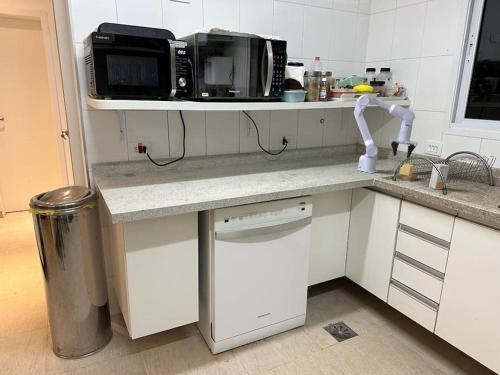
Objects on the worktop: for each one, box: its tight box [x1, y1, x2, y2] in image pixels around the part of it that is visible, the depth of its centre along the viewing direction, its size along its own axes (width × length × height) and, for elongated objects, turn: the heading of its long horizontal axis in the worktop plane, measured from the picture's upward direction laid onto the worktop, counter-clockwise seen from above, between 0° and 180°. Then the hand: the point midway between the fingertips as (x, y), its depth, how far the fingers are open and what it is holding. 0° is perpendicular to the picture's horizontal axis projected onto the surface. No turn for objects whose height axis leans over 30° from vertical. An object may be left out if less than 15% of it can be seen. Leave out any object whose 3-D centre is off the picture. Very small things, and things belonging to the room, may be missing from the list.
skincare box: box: [428, 163, 450, 190], centre depth 172 cm, size 6×4×12 cm
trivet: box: [393, 171, 419, 182], centre depth 190 cm, size 9×9×2 cm
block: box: [399, 163, 415, 176], centre depth 189 cm, size 5×5×5 cm
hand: (401, 156), depth 196 cm, fingers open, 7 cm apart
